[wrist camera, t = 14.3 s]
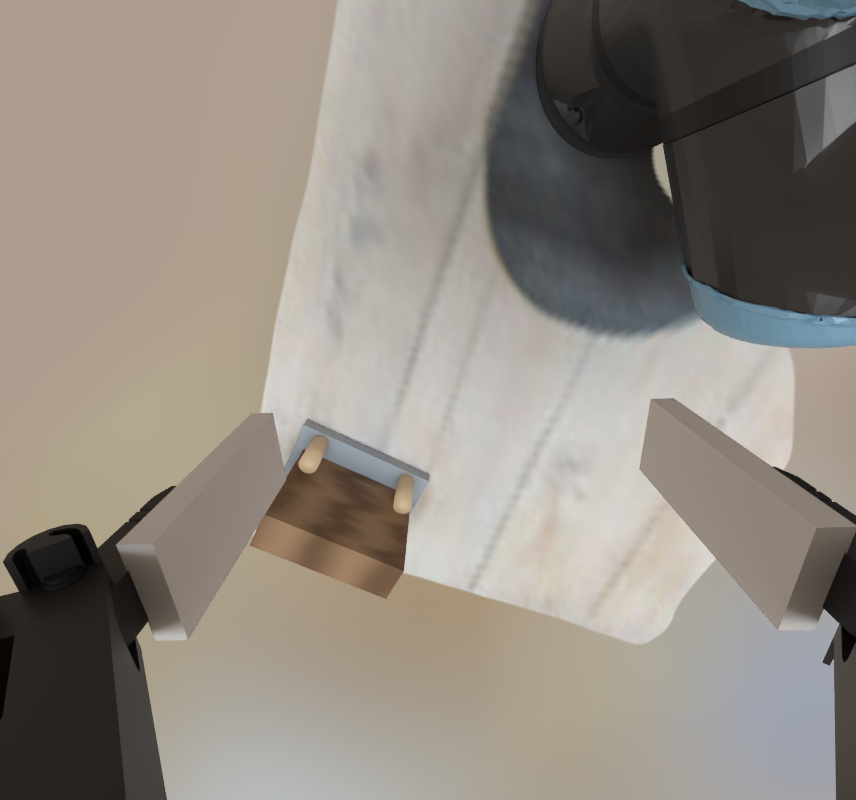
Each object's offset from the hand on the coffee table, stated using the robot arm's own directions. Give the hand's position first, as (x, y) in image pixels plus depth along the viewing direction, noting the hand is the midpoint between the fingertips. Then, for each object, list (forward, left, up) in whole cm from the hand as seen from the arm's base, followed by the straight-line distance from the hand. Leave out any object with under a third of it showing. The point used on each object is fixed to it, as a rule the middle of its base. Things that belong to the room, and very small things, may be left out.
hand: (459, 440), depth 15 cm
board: (+12, +21, -29) cm, 38 cm away
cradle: (+12, +21, -31) cm, 39 cm away
